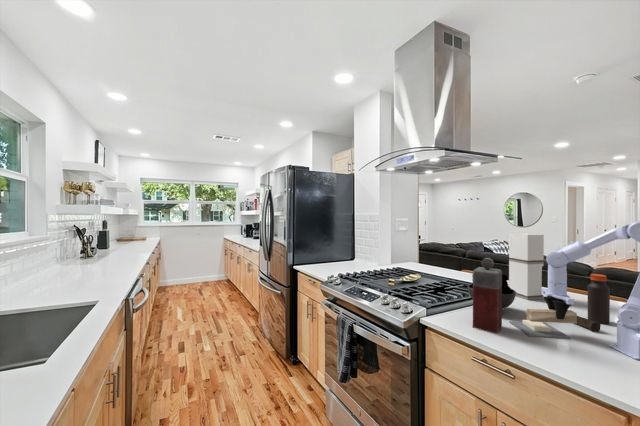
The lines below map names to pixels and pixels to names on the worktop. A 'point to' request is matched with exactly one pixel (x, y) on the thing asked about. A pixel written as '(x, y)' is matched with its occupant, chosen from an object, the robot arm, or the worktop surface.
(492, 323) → the pepper grinder
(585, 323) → the brown wooden log
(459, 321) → the worktop surface
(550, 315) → the tan wooden plank
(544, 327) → the tile
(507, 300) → the bowl of black rocks
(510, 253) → the banded white pillar
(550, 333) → the mat
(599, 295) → the bottle
